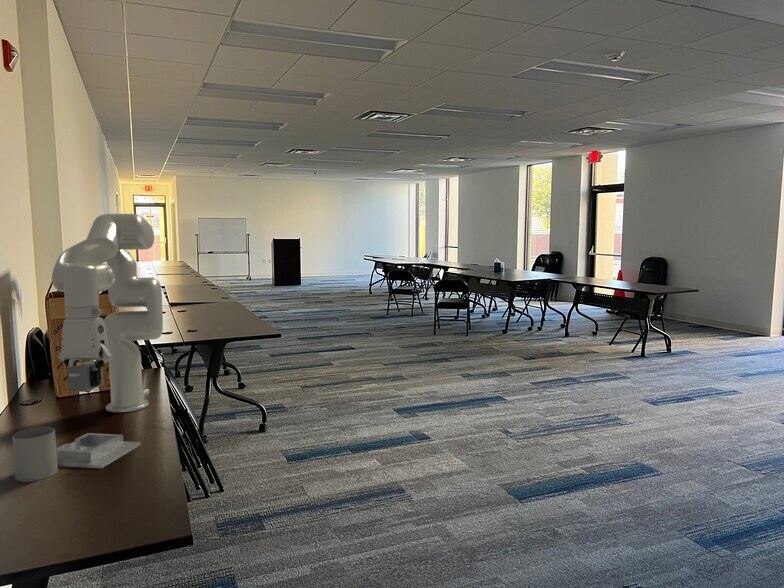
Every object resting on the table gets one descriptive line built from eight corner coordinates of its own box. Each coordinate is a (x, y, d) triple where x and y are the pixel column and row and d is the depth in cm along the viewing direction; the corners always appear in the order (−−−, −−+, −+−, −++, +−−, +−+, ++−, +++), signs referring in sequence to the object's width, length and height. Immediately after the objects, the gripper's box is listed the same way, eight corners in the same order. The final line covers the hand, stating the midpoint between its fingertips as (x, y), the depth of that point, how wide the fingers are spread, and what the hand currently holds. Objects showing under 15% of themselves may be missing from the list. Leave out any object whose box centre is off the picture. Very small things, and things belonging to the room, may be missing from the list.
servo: (90, 383, 150) (89, 357, 149) (106, 383, 149) (105, 357, 149) (65, 392, 141) (64, 364, 140) (82, 392, 140) (80, 364, 140)
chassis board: (79, 442, 155) (78, 430, 155) (140, 445, 152) (139, 433, 152) (34, 464, 139) (33, 452, 139) (101, 468, 137) (100, 455, 136)
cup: (65, 469, 136) (63, 428, 135) (34, 483, 129) (31, 440, 128) (39, 465, 139) (36, 425, 138) (6, 478, 131) (3, 436, 130)
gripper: (122, 312, 146) (126, 382, 147) (63, 312, 149) (67, 381, 150) (103, 315, 139) (107, 389, 140) (41, 315, 141) (45, 388, 143)
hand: (86, 384), depth 145 cm, fingers closed on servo, 4 cm apart
